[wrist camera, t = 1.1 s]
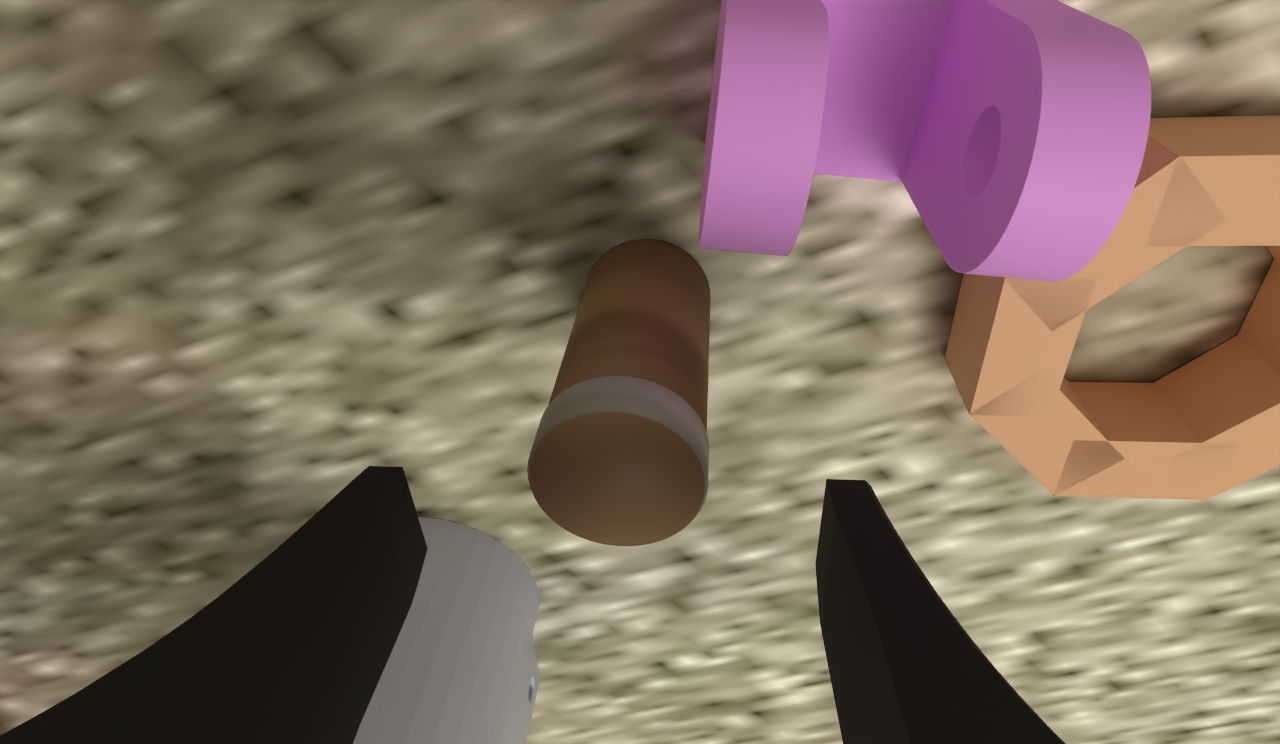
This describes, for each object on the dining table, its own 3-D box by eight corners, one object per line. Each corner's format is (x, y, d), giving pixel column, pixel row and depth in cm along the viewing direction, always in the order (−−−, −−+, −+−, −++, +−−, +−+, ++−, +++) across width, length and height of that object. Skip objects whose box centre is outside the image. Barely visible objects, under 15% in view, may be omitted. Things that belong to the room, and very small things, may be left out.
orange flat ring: (1259, 439, 20) (1318, 503, 18) (927, 432, 21) (948, 493, 19) (1442, 111, 15) (1550, 150, 13) (997, 120, 16) (1035, 158, 14)
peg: (711, 350, 20) (707, 550, 14) (590, 349, 20) (538, 544, 15) (712, 237, 18) (708, 414, 12) (578, 237, 18) (513, 411, 13)
